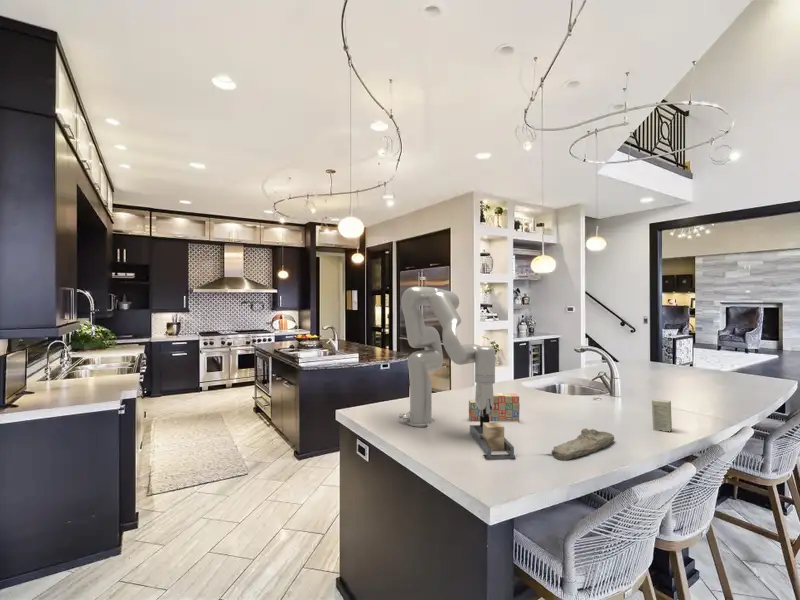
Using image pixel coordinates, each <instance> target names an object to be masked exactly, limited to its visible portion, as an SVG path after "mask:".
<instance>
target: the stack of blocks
mask: <svg viewBox="0 0 800 600" xmlns="http://www.w3.org/2000/svg"><path fill="white" fill-rule="evenodd" d="M520 409H521V408H520V396H519V395H518V394H517V393H509V392H496V393H495V392H493V410H490V416H489V422H517V423H520ZM480 416H482V415H480V409H479V408H478V407H477V406H476V405H475V399H468V420H469V422H480Z"/></svg>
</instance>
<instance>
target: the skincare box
mask: <svg viewBox="0 0 800 600" xmlns="http://www.w3.org/2000/svg"><path fill="white" fill-rule="evenodd" d="M651 406H652V407H651V409H652V411H651V413H652V415H651V416H652V430H653V429H657V430H656V431H659V430H662V431H661V432H665V431H669V432H668V433H670V431H671V430H672V431H673V423H672V420H673V419H672V402H671V400H667V399H656V398H654V399H651ZM672 431H671V432H672Z"/></svg>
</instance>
